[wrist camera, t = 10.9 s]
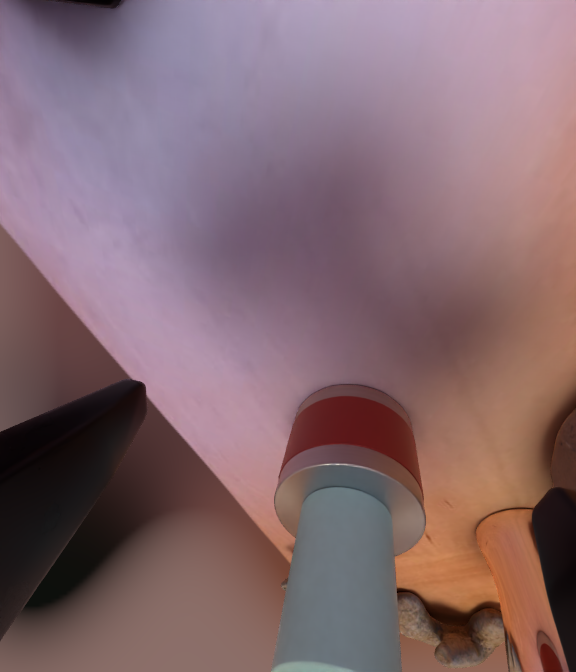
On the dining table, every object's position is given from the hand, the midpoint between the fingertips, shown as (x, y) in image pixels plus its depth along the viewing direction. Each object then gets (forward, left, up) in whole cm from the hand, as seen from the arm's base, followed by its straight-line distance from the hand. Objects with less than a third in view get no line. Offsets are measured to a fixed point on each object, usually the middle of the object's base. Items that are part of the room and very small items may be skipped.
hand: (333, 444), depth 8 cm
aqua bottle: (+2, -11, -6) cm, 13 cm away
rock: (+7, -23, -8) cm, 26 cm away
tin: (+2, -11, -13) cm, 17 cm away
